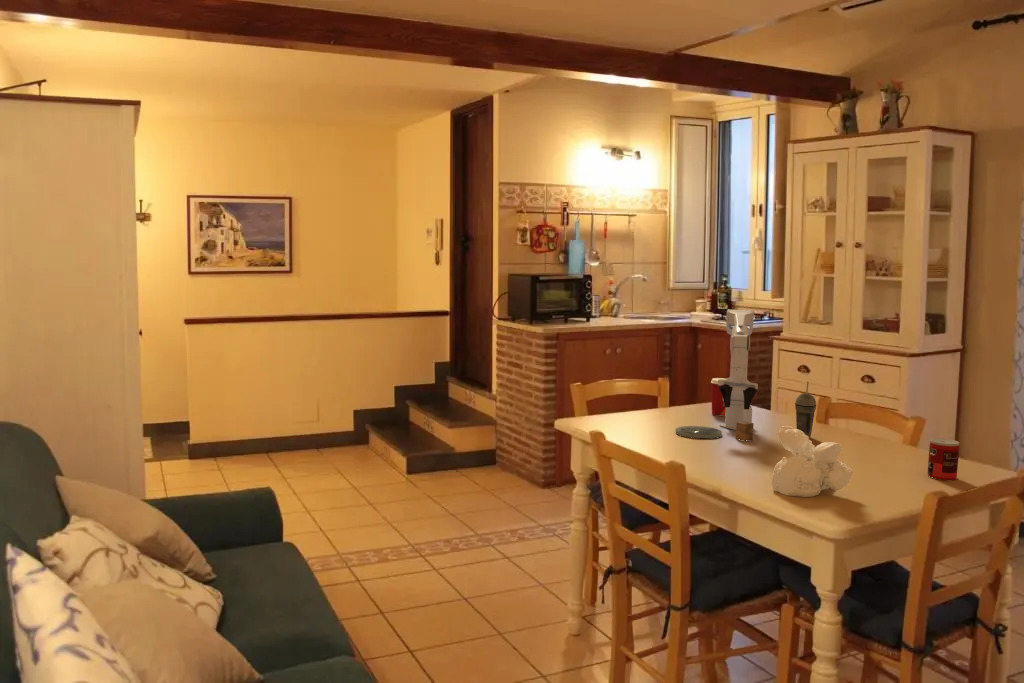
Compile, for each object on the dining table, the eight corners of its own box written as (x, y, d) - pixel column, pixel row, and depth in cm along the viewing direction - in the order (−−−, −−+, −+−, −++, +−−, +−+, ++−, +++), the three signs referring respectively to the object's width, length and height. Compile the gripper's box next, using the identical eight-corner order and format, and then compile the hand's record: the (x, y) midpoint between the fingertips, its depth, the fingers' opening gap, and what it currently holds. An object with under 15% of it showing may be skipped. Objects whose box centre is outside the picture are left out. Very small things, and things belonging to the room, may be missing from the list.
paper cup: (731, 416, 352) (732, 381, 351) (711, 416, 353) (712, 380, 351) (726, 412, 360) (728, 377, 359) (707, 412, 360) (708, 377, 359)
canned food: (931, 472, 275) (933, 436, 273) (959, 477, 270) (962, 441, 268) (923, 477, 269) (926, 440, 267) (953, 482, 264) (956, 445, 262)
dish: (699, 427, 332) (699, 424, 332) (731, 436, 319) (731, 432, 318) (666, 431, 323) (666, 428, 323) (697, 440, 310) (697, 437, 310)
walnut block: (744, 438, 316) (744, 421, 316) (752, 440, 313) (753, 423, 312) (735, 439, 314) (736, 422, 313) (744, 441, 311) (745, 424, 310)
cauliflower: (748, 458, 250) (792, 414, 258) (768, 510, 259) (810, 467, 267) (805, 477, 235) (850, 430, 243) (824, 532, 244) (866, 486, 252)
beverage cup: (812, 435, 323) (815, 379, 320) (816, 439, 315) (820, 383, 313) (790, 434, 323) (794, 378, 321) (795, 439, 316) (798, 382, 314)
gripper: (726, 365, 308) (724, 405, 306) (763, 370, 312) (761, 409, 311) (715, 367, 315) (713, 406, 313) (751, 371, 319) (750, 410, 317)
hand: (737, 408), depth 312 cm, fingers open, 7 cm apart
